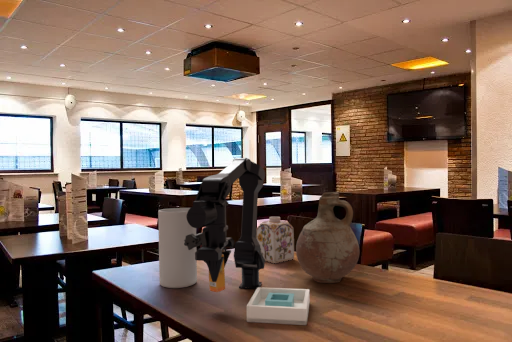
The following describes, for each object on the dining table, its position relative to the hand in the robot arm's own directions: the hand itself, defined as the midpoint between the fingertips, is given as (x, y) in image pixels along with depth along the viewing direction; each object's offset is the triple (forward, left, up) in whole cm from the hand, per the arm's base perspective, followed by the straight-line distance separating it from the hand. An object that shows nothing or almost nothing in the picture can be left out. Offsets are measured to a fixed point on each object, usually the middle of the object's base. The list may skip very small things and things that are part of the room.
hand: (216, 279), depth 110 cm
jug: (-33, +30, -8) cm, 45 cm away
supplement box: (0, 0, -3) cm, 3 cm away
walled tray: (0, +17, -8) cm, 19 cm away
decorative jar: (-61, +8, -8) cm, 62 cm away
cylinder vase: (-22, -20, -8) cm, 31 cm away
